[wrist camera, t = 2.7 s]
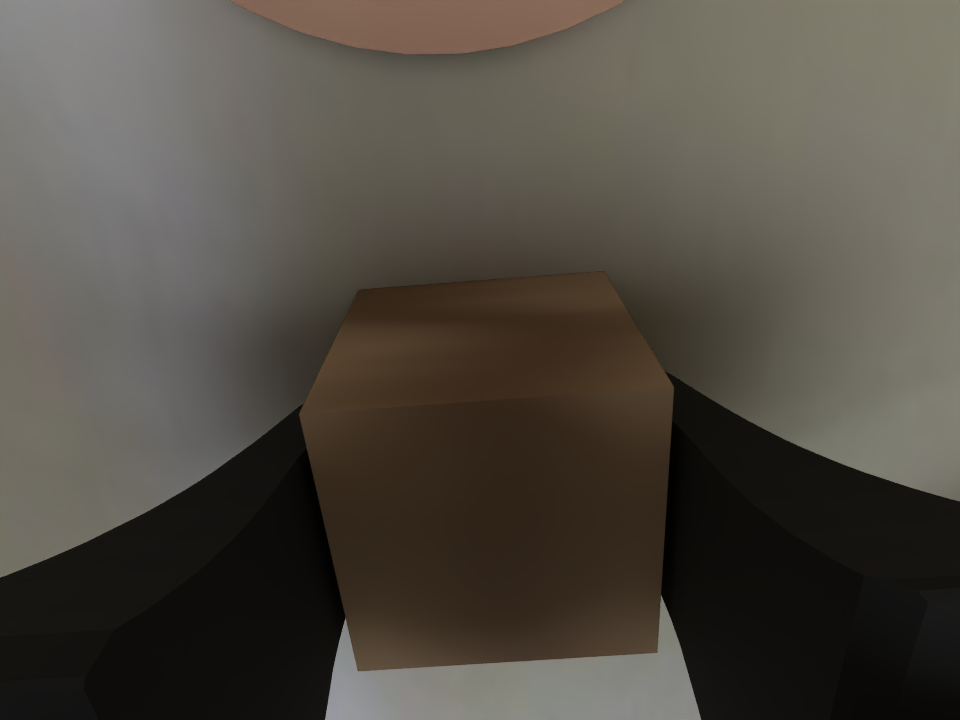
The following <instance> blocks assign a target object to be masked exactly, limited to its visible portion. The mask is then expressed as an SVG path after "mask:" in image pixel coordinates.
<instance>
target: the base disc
mask: <svg viewBox="0 0 960 720" xmlns="http://www.w3.org/2000/svg"><path fill="white" fill-rule="evenodd" d="M231 1H233V2H234V3H236V4H238V5H239V6H241V7H243V8H244V9H247V10H249V11H251V12H254V13H256V14H258V15H261V16H263V17H265V18H268V19H270V20H272V21H275V22H277V23H279V24H282V25H284V26H286V27H289V28H291V29H293V30H295V31H298V32H301V33H304V34H308V35H312V36H315V37H319V38H322V39H326V40H329V41H333V42H337V43H340V44H344V45H347V46H351V47H356V48H364V49H371V50H379V51H386V52H394V53H401V54H465V53H472V52H478V51H484V50H491V49H497V48H503V47H508V46H513V45H516V44H519V43H523V42H526V41H529V40H532V39H536V38H539V37H542V36H545V35H549V34H552V33H555V32H558V31H562V30H565V29H567V28H570V27H572V26H574V25H576V24H578V23H580V22H582V21H585V20H587V19H589V18H591V17H593V16H595V15H597V14H600V13H602V12H604V11H606V10H608V9H610V8H612V7H614V6H617V5H619V4H620V3H622V2H623V1H625V0H231Z"/></svg>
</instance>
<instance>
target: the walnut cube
mask: <svg viewBox="0 0 960 720" xmlns="http://www.w3.org/2000/svg"><path fill="white" fill-rule="evenodd" d="M673 396H674V386H673V385H672V383H671V381H670V380H669V378H668V376H667V375H666V373H665V371H664V370H663V368H662V367H661V365H660V363H659V362H658V360H657V358H656V357H655V355H654V353H653V352H652V350H651V348H650V347H649V345H648V343H647V342H646V340H645V338H644V337H643V335H642V333H641V332H640V330H639V329H638V327H637V325H636V324H635V322H634V320H633V319H632V317H631V315H630V314H629V312H628V310H627V309H626V307H625V305H624V304H623V302H622V300H621V299H620V297H619V295H618V294H617V292H616V291H615V289H614V287H613V286H612V284H611V282H610V281H609V279H608V277H607V276H606V274H605V272H604V271H599V272H586V273H573V274H560V275H547V276H533V277H520V278H507V279H494V280H481V281H467V282H454V283H441V284H428V285H414V286H401V287H388V288H375V289H362V290H358V293H357V295H356V297H355V299H354V301H353V303H352V305H351V307H350V309H349V311H348V313H347V315H346V317H345V320H344V322H343V324H342V326H341V328H340V330H339V332H338V334H337V336H336V338H335V340H334V342H333V344H332V346H331V349H330V351H329V353H328V355H327V357H326V359H325V361H324V363H323V365H322V367H321V369H320V371H319V373H318V376H317V378H316V380H315V382H314V384H313V386H312V388H311V390H310V392H309V394H308V396H307V398H306V400H305V403H304V405H303V407H302V409H301V411H300V413H299V416H300V421H301V425H302V429H303V434H304V438H305V442H306V447H307V451H308V456H309V460H310V464H311V469H312V473H313V477H314V482H315V486H316V490H317V495H318V499H319V504H320V508H321V512H322V517H323V521H324V525H325V530H326V534H327V538H328V543H329V547H330V552H331V556H332V560H333V565H334V569H335V573H336V578H337V582H338V586H339V591H340V595H341V599H342V604H343V608H344V613H345V617H346V621H347V626H348V630H349V634H350V639H351V643H352V647H353V652H354V656H355V661H356V665H357V669H358V671H370V670H386V669H402V668H419V667H435V666H451V665H467V664H483V663H499V662H515V661H531V660H548V659H564V658H580V657H596V656H612V655H628V654H644V653H657V649H658V633H659V617H660V601H661V586H662V570H663V554H664V538H665V522H666V507H667V491H668V475H669V459H670V443H671V428H672V412H673Z"/></svg>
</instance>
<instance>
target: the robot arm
mask: <svg viewBox="0 0 960 720" xmlns="http://www.w3.org/2000/svg"><path fill="white" fill-rule="evenodd" d="M665 373H666V375H667V376H668V378H669V380H670V381H671V383H672V385H673V386H674V396H673V412H672V428H671V443H670V459H669V475H668V491H667V507H666V522H665V538H664V554H663V570H662V586H661V595H662V598H663V600H664V603H665V605H666V608H667V610H668V613H669V615H670V618H671V620H672V623H673V626H674V629H675V631H676V634H677V637H678V640H679V643H680V646H681V649H682V653H683V656H684V660H685V663H686V667H687V670H688V674H689V677H690V681H691V684H692V688H693V691H694V695H695V698H696V702H697V705H698V709H699V713H700V716H701V720H960V502H959V501H955V500H951V499H948V498H944V497H941V496H937V495H934V494H930V493H927V492H923V491H920V490H916V489H913V488H910V487H907V486H904V485H901V484H898V483H895V482H892V481H889V480H885V479H882V478H879V477H876V476H873V475H870V474H867V473H864V472H862V471H859V470H856V469H854V468H851V467H848V466H845V465H843V464H840V463H838V462H835V461H833V460H830V459H828V458H826V457H823V456H821V455H819V454H816V453H814V452H811V451H809V450H807V449H804V448H802V447H800V446H797V445H795V444H793V443H791V442H789V441H787V440H784V439H782V438H780V437H778V436H776V435H774V434H772V433H771V432H769V431H767V430H765V429H763V428H761V427H759V426H757V425H755V424H753V423H751V422H749V421H747V420H746V419H744V418H742V417H740V416H739V415H737V414H735V413H733V412H731V411H730V410H728V409H726V408H725V407H723V406H721V405H719V404H718V403H716V402H714V401H713V400H711V399H709V398H708V397H706V396H705V395H703V394H701V393H700V392H698V391H696V390H695V389H693V388H692V387H690V386H688V385H687V384H685V383H684V382H682V381H680V380H679V379H677V378H676V377H674V376H672V375H671V374H669V373H667V372H666V371H665ZM303 405H304V403H303V404H302V405H301V406H299V407H298V408H297V409H296V410H294V411H293V412H292V413H291V414H290V415H288V416H287V417H286V418H285V419H283V420H282V421H281V422H280V423H278V424H277V425H276V426H274V427H273V428H272V429H271V430H269V431H268V432H267V433H266V434H264V435H263V436H262V437H261V438H259V439H258V440H257V441H255V442H254V443H253V444H251V445H250V446H249V447H247V448H246V449H244V450H243V451H242V452H240V453H239V454H238V455H236V456H235V457H233V458H232V459H231V460H229V461H228V462H226V463H225V464H224V465H222V466H221V467H219V468H218V469H217V470H215V471H214V472H212V473H211V474H209V475H208V476H206V477H205V478H203V479H202V480H200V481H199V482H197V483H196V484H194V485H192V486H191V487H189V488H188V489H186V490H184V491H183V492H181V493H179V494H177V495H176V496H174V497H172V498H171V499H169V500H167V501H166V502H164V503H162V504H160V505H159V506H157V507H155V508H153V509H151V510H150V511H148V512H146V513H144V514H142V515H140V516H138V517H136V518H134V519H132V520H130V521H128V522H126V523H124V524H122V525H120V526H118V527H116V528H114V529H112V530H110V531H108V532H106V533H104V534H102V535H100V536H98V537H96V538H94V539H92V540H90V541H88V542H85V543H83V544H81V545H79V546H77V547H74V548H72V549H70V550H67V551H65V552H63V553H60V554H58V555H56V556H54V557H51V558H49V559H47V560H44V561H42V562H39V563H37V564H34V565H32V566H29V567H27V568H24V569H22V570H19V571H17V572H14V573H12V574H9V575H7V576H4V577H1V578H0V720H325V717H326V710H327V704H328V698H329V691H330V685H331V679H332V672H333V666H334V662H335V657H336V653H337V648H338V644H339V639H340V636H341V632H342V628H343V625H344V621H345V613H344V608H343V604H342V599H341V595H340V591H339V586H338V582H337V578H336V573H335V569H334V565H333V560H332V556H331V552H330V547H329V543H328V538H327V534H326V530H325V525H324V521H323V517H322V512H321V508H320V504H319V499H318V495H317V490H316V486H315V482H314V477H313V473H312V469H311V464H310V460H309V456H308V451H307V447H306V442H305V438H304V434H303V429H302V425H301V421H300V416H299V413H300V411H301V409H302V407H303Z"/></svg>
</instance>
